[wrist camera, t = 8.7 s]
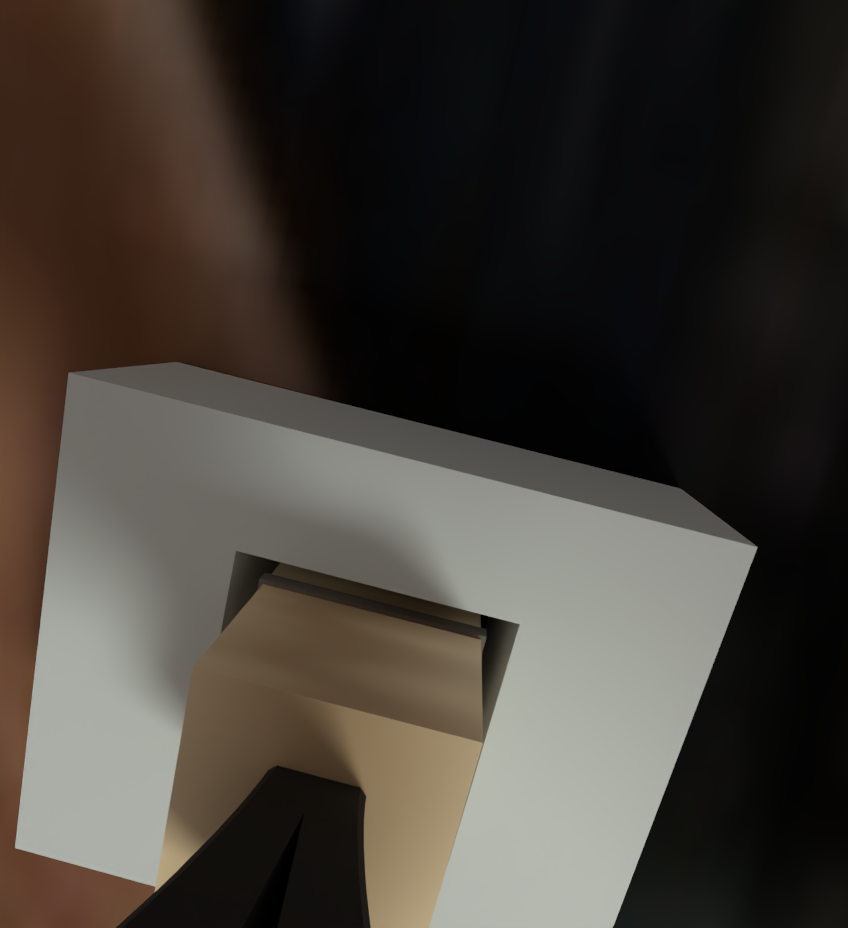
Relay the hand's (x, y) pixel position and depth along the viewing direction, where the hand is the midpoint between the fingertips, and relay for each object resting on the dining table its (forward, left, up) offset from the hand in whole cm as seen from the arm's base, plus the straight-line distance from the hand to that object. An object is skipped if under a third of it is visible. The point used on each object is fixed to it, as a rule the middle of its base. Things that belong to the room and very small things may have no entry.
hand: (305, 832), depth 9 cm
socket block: (0, 0, -7) cm, 7 cm away
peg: (0, 0, -7) cm, 7 cm away
